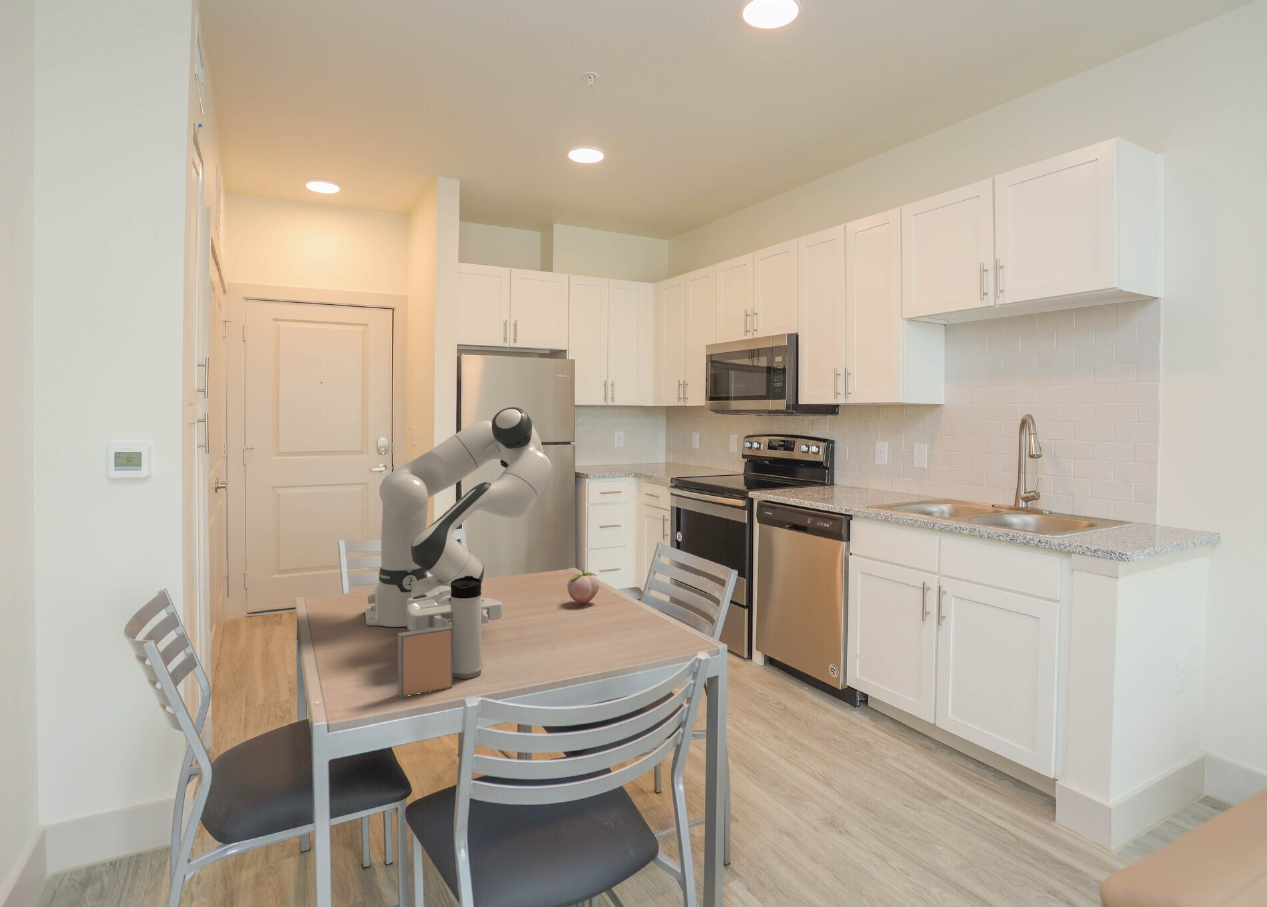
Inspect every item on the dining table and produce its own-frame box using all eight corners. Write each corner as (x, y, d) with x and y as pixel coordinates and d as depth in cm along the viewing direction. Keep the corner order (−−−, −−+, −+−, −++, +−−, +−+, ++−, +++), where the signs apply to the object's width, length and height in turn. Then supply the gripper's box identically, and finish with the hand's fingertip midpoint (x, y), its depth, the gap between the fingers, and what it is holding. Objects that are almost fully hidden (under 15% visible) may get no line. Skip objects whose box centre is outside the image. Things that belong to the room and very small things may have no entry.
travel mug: (483, 668, 154) (484, 575, 153) (478, 679, 147) (478, 582, 146) (454, 668, 154) (454, 575, 153) (447, 679, 147) (447, 582, 146)
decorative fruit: (582, 598, 214) (583, 565, 213) (603, 603, 209) (603, 569, 208) (560, 605, 207) (560, 570, 206) (581, 610, 201) (581, 574, 201)
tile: (398, 694, 139) (398, 633, 138) (449, 684, 144) (448, 625, 144) (401, 698, 137) (401, 636, 137) (452, 688, 143) (452, 628, 142)
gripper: (489, 615, 167) (513, 629, 155) (399, 628, 155) (418, 645, 144) (489, 588, 166) (513, 601, 155) (399, 599, 155) (418, 614, 144)
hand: (467, 622), depth 149 cm, fingers closed on travel mug, 6 cm apart
